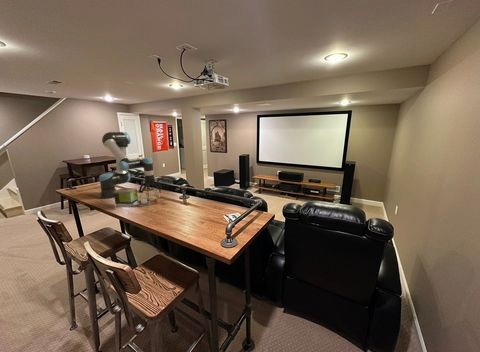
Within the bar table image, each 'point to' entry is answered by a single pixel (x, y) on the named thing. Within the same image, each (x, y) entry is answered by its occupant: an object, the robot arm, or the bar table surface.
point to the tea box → (126, 197)
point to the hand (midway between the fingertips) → (151, 197)
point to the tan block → (143, 198)
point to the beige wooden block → (151, 195)
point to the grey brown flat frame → (149, 203)
